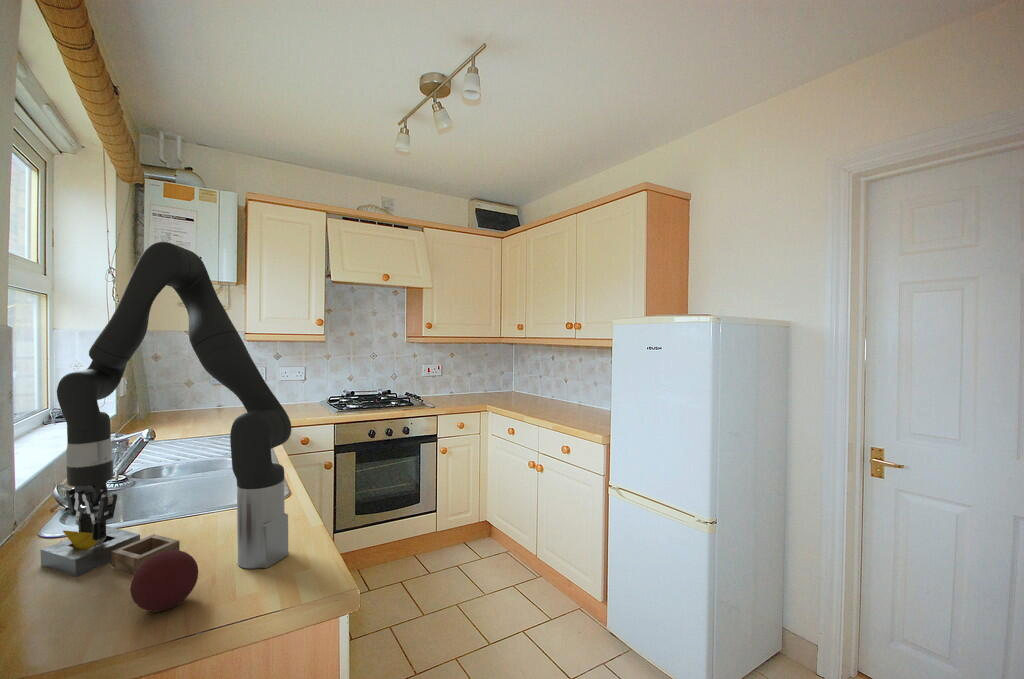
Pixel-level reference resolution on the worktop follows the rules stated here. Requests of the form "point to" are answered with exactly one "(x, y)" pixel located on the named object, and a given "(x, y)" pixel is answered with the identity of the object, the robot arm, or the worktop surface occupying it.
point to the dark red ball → (164, 580)
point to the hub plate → (85, 553)
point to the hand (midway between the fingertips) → (92, 536)
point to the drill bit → (83, 540)
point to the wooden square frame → (141, 552)
